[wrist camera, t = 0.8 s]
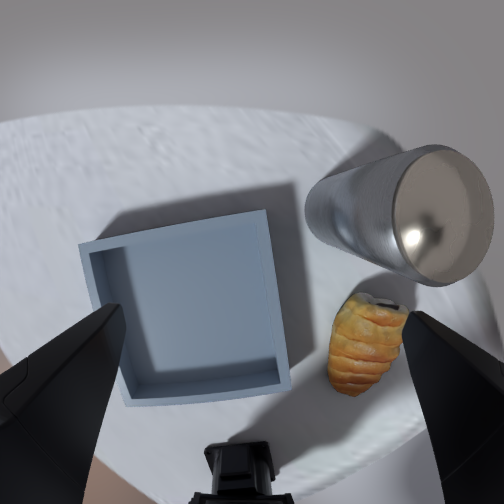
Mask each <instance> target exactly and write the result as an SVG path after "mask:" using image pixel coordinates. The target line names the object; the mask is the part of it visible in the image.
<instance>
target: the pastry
mask: <svg viewBox="0 0 504 504" xmlns="http://www.w3.org/2000/svg"><path fill="white" fill-rule="evenodd" d="M408 315H409V310H408V308H407V307H405V306H404V305H399V304H394V302H393V301H391V300H388V299H381V298H373V297H372V296H371V295H370V294H368V293H362V292H359V293H356V294H354V295H352V296H351V297H350V298H349V299H348V300H347V301H346V303H345V304H344V305H343V307H342V308H341V309H340V310H339V312H338V313H337V315H336V317H335V320H334V323H333V325H332V334H331V338H330V344H329V357H328V376H329V381H330V383H331V384H332V386H333V387H334V389H336V391H337V392H340V393H343V394H347V395H349V396H352V397H356V396H358V395H359V394H361V393H363V392H365V391H366V390H368V389H369V388H370V387H371V386H372V385H373V384H375V383H377V382H379V380H380V378H381V376H382V374H383V373H384V372H387V371H388V370H389V369H390V366H391V363H392V361H394V360H395V359H396V358H397V356H398V355H399V353H400V348H399V346H400V344H401V343H403V341H402V329H403V327H404V325H405V322H406V320H407V317H408Z"/></svg>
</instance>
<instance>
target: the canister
mask: <svg viewBox="0 0 504 504" xmlns="http://www.w3.org/2000/svg"><path fill="white" fill-rule="evenodd" d="M305 219H306V222H307V225H308V227H309V229H310V231H311V232H312V233H313V234H314V236H315V237H316V238H318V239H319V240H320V241H322V242H324V243H326V244H328V245H331V246H333V247H336V248H338V249H340V250H343V251H345V252H348V253H350V254H352V255H355V256H357V257H360V258H362V259H364V260H367V261H369V262H372V263H374V264H376V265H379V266H381V267H383V268H386V269H388V270H390V271H393V272H395V273H397V274H400V275H402V276H404V277H406V278H409V279H411V280H413V281H416V282H418V283H420V284H423V285H426V286H431V287H443V286H448V285H450V284H453V283H455V282H457V281H459V280H461V279H463V278H465V277H467V276H468V275H469V274H471V273H472V272H473V271H474V270H475V269H476V268H477V267H478V266H479V264H480V263H481V262H482V260H483V258H484V257H485V255H486V253H487V250H488V248H489V245H490V243H491V239H492V235H493V229H494V207H493V200H492V195H491V192H490V189H489V186H488V184H487V182H486V179H485V178H484V176H483V174H482V173H481V171H480V170H479V168H478V167H477V166H476V165H475V164H474V163H473V162H472V161H471V160H470V159H469V158H467V157H466V156H464V155H462V154H461V153H459V152H458V151H456V150H454V149H452V148H450V147H447V146H443V145H426V146H423V147H419V148H416V149H413V150H410V151H406V152H403V153H400V154H397V155H394V156H391V157H387V158H384V159H381V160H378V161H375V162H372V163H369V164H366V165H363V166H360V167H357V168H354V169H351V170H348V171H345V172H342V173H339V174H336V175H333V176H330V177H327V178H325V179H323V180H321V181H319V182H318V183H317V184H316V185H314V187H313V188H312V189H311V190H310V192H309V194H308V196H307V199H306V202H305Z"/></svg>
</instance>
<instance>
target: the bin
mask: <svg viewBox="0 0 504 504" xmlns="http://www.w3.org/2000/svg"><path fill="white" fill-rule="evenodd" d="M78 247H79V252H80V257H81V262H82V266H83V271H84V275H85V280H86V284H87V288H88V292H89V296H90V300H91V304H92V308H93V311H96V310H97V309H99V308H100V307H102V306H103V305H105V304H107V303H109V302H112V303H120V304H121V305H122V307H123V312H124V316H125V321H126V327H127V328H126V335H125V340H124V344H123V349H122V353H121V358H120V363H119V368H118V372H117V376H116V379H115V380H116V382H117V385H118V388H119V390H120V393H121V395H122V398H123V400H124V403H125V405H126V407H144V406H166V405H182V404H194V403H205V402H214V401H223V400H231V399H239V398H246V397H253V396H260V395H266V394H272V393H278V392H283V391H289V390H292V386H291V378H290V371H289V364H288V356H287V349H286V342H285V335H284V328H283V321H282V314H281V307H280V300H279V293H278V286H277V280H276V273H275V266H274V260H273V253H272V247H271V240H270V234H269V227H268V221H267V215H266V209H261V210H255V211H249V212H243V213H237V214H231V215H225V216H219V217H213V218H207V219H202V220H196V221H191V222H185V223H180V224H174V225H169V226H164V227H158V228H153V229H148V230H143V231H138V232H133V233H128V234H123V235H118V236H113V237H108V238H104V239H99V240H94V241H90V242H86V243H82V244H78Z"/></svg>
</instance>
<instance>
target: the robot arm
mask: <svg viewBox="0 0 504 504" xmlns="http://www.w3.org/2000/svg"><path fill="white" fill-rule="evenodd" d="M126 328H127V327H126V321H125V316H124V312H123V307H122V305H121V304H120V303H112V302H109V303H107V304H105V305H103V306H102V307H100V308H99V309H97V310H96V311H94V312H93V313H91V314H90V315H88V316H87V317H85V318H84V319H82V320H81V321H79V322H78V323H76V324H75V325H73V326H72V327H70V328H69V329H67V330H66V331H64V332H63V333H61V334H60V335H58V336H57V337H55V338H54V339H52V340H51V341H49V342H48V343H46V344H45V345H43V346H42V347H40V348H39V349H37V350H36V351H35V352H33V353H32V354H30V355H29V356H28V357H26V358H24V359H23V360H21V361H20V362H19V363H17V364H16V365H14V366H13V367H11V368H10V369H8V370H7V371H5V372H3V373H2V374H0V504H82V502H83V497H84V491H85V488H86V483H87V478H88V475H89V470H90V466H91V462H92V458H93V454H94V451H95V447H96V443H97V439H98V436H99V432H100V429H101V425H102V422H103V418H104V415H105V411H106V408H107V405H108V401H109V398H110V395H111V392H112V389H113V385H114V382H115V379H116V376H117V372H118V368H119V363H120V358H121V353H122V349H123V344H124V340H125V335H126ZM402 341H403V345H404V349H405V353H406V357H407V361H408V366H409V370H410V374H411V377H412V381H413V384H414V387H415V390H416V393H417V396H418V399H419V402H420V405H421V409H422V412H423V415H424V419H425V422H426V425H427V429H428V432H429V435H430V440H431V443H432V447H433V451H434V455H435V459H436V463H437V467H438V471H439V475H440V480H441V485H442V490H443V494H444V500H445V504H504V363H503V362H501V361H500V360H499V361H498V359H496V358H495V357H493V356H492V355H490V354H489V353H487V352H486V351H484V350H483V349H481V348H480V347H478V346H477V345H475V344H473V343H472V342H470V341H469V340H467V339H466V338H464V337H463V336H461V335H459V334H458V333H456V332H455V331H453V330H452V329H450V328H448V327H447V326H445V325H444V324H442V323H440V322H439V321H437V320H436V319H434V318H432V317H431V316H429V315H428V314H426V313H424V312H423V311H412V312H410V313H409V315H408V317H407V320H406V322H405V325H404V327H403V329H402ZM204 454H205V457H206V460H207V462H208V465H209V467H210V470H211V473H212V475H213V481H212V494H203V493H201V492H195V493H194V498H192V499H191V501H190V502H189V503H188V504H294V501H293V498H292V495H291V493H285V494H283V495H272V488H271V482H272V481H275V473H274V468H273V463H272V459H271V454H270V449H269V444H268V443H267V442H265V441H263V442H256V443H248V444H240V445H231V446H221V447H209V448H205V450H204Z"/></svg>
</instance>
